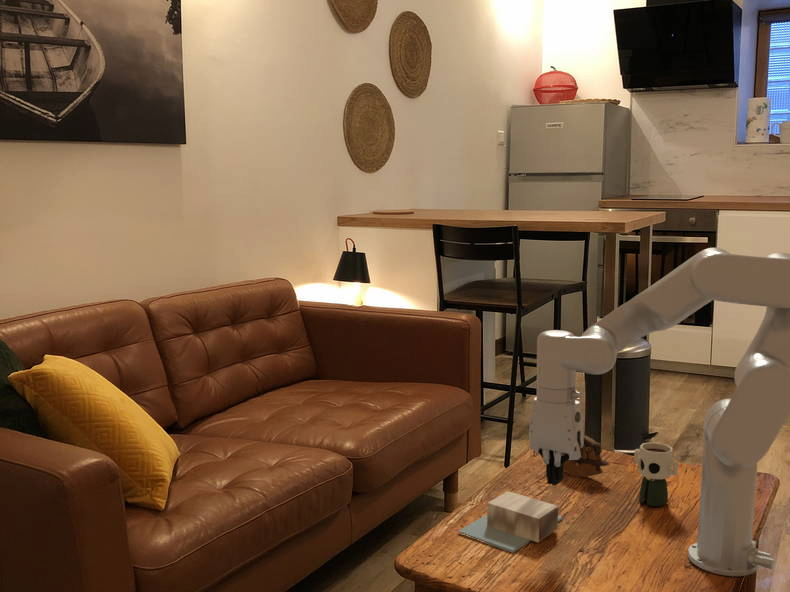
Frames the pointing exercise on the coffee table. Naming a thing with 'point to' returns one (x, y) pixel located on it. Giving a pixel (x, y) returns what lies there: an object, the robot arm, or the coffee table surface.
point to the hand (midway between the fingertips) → (554, 482)
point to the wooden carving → (587, 460)
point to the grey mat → (495, 535)
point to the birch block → (522, 516)
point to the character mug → (655, 471)
